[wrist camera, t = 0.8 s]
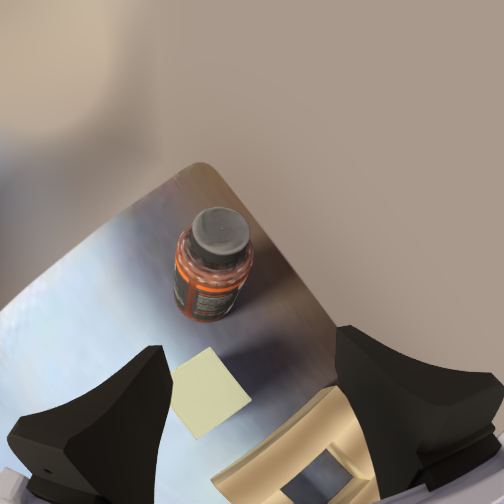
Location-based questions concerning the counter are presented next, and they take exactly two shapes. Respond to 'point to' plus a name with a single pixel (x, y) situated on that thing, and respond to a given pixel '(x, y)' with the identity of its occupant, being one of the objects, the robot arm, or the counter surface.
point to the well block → (304, 455)
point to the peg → (205, 393)
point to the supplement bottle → (212, 263)
